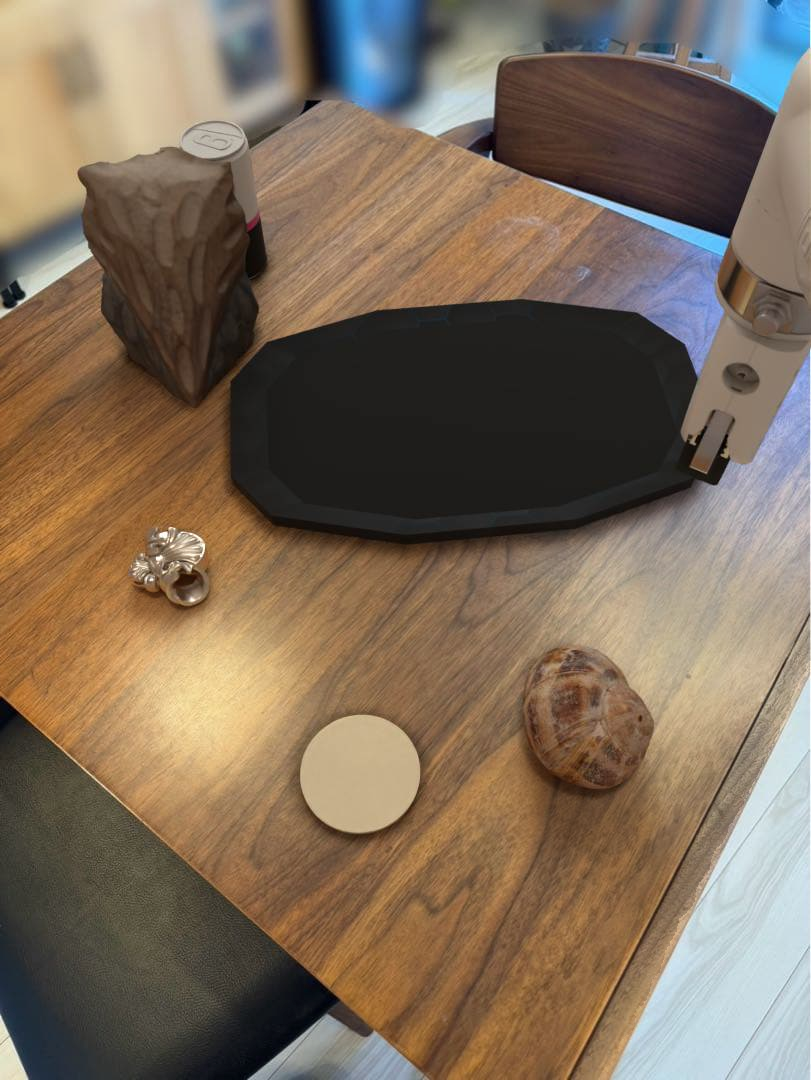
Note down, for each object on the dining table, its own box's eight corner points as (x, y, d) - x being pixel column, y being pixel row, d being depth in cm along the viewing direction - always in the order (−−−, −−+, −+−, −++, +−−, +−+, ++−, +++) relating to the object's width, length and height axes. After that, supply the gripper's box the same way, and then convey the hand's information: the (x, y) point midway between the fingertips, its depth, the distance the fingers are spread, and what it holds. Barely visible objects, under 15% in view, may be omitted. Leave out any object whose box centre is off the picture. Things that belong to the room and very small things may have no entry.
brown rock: (110, 348, 91) (42, 174, 74) (205, 285, 96) (161, 109, 79) (191, 412, 86) (138, 242, 69) (286, 342, 91) (258, 168, 74)
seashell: (682, 705, 69) (676, 713, 60) (615, 799, 70) (599, 822, 60) (570, 626, 72) (547, 622, 63) (507, 717, 73) (475, 726, 64)
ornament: (120, 554, 78) (108, 531, 74) (194, 524, 79) (186, 500, 76) (149, 627, 74) (138, 606, 71) (227, 593, 75) (219, 571, 72)
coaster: (441, 751, 68) (441, 749, 68) (381, 857, 64) (381, 856, 63) (341, 696, 70) (340, 694, 70) (277, 795, 66) (276, 794, 66)
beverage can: (248, 291, 95) (223, 166, 83) (196, 274, 97) (164, 148, 84) (278, 254, 99) (259, 128, 86) (227, 238, 100) (201, 111, 87)
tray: (660, 298, 94) (663, 287, 93) (740, 513, 80) (745, 503, 78) (232, 332, 92) (230, 321, 91) (233, 560, 77) (230, 550, 76)
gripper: (820, 388, 45) (714, 569, 61) (891, 218, 52) (779, 420, 68) (679, 335, 47) (611, 524, 63) (765, 178, 54) (685, 384, 70)
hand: (699, 470), depth 65 cm, fingers closed
